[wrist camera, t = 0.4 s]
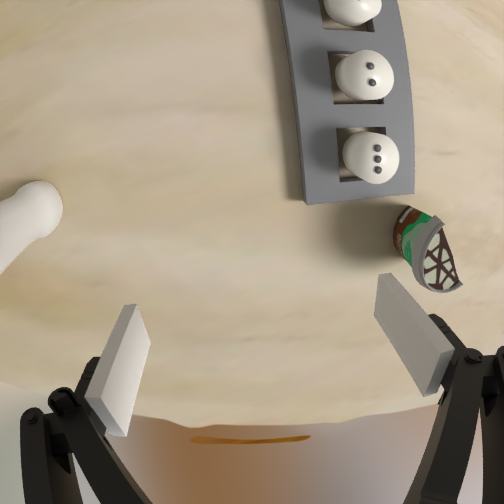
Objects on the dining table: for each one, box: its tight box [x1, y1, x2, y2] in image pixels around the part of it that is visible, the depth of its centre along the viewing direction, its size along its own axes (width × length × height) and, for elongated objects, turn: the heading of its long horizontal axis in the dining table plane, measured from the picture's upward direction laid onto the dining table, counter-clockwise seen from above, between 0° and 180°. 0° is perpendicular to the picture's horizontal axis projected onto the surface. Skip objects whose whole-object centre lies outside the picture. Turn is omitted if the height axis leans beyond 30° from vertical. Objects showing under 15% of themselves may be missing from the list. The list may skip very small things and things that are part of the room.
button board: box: [279, 0, 415, 205], centre depth 33 cm, size 32×16×2 cm, turn 7°
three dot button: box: [342, 131, 399, 184], centre depth 35 cm, size 6×6×4 cm
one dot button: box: [324, 0, 382, 27], centre depth 26 cm, size 6×6×4 cm
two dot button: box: [335, 50, 394, 100], centre depth 30 cm, size 6×6×4 cm
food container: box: [393, 206, 463, 293], centre depth 40 cm, size 12×6×10 cm, turn 36°
